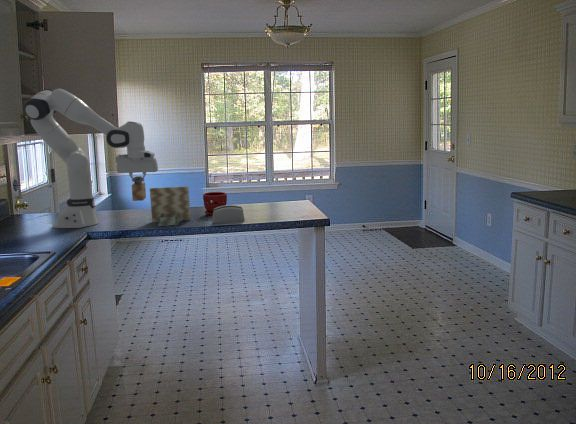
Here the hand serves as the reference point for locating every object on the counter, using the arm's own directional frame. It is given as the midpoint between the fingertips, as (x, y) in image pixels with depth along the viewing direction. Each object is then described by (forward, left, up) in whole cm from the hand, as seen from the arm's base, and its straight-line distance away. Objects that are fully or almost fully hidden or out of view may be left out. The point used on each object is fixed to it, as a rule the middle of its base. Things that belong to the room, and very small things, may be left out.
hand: (138, 181), depth 282 cm
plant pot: (+37, +21, -23) cm, 49 cm away
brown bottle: (0, 0, -9) cm, 9 cm away
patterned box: (+14, +1, -23) cm, 27 cm away
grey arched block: (+45, -3, -23) cm, 50 cm away
